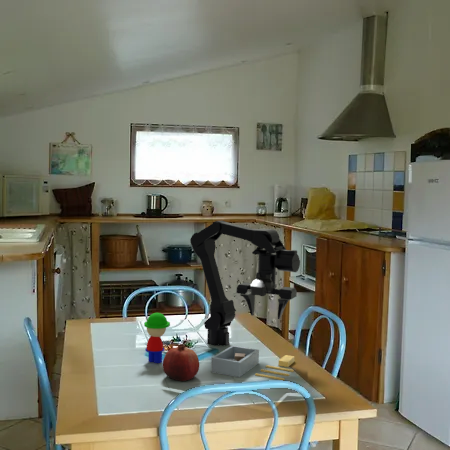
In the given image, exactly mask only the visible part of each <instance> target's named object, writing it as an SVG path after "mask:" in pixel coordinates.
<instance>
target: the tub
mask: <svg viewBox="0 0 450 450" xmlns="http://www.w3.org/2000/svg"><path fill="white" fill-rule="evenodd" d="M235 353H242V354H245V357H244V358H243V359H241V360H240V361H233V360H227V359H235ZM259 359H260V350H259V349H257V348H250V347H244V346H237V345H230V346H229V347H227V348H225V349H224V350H222V351H221V352H219V353H217V354H215V355H214V356H212V357H211V359H210V360H211V361H210V362H211V363H210V364H211V367H210V372H211V373H214V374H220V375H224V376H231V377H235V378H241V377H243V376H244V375H245V374H247V373H248V372H249V371H251V370H252V369H253V368H254V367H256V366H257V365H259V362H260V360H259Z"/></svg>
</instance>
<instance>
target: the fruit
mask: <svg viewBox="0 0 450 450" xmlns="http://www.w3.org/2000/svg"><path fill="white" fill-rule="evenodd" d="M162 369H163V372H164V374H165V375H166V376H167V377H168V378H170V379H171V380H175V381H179V382H186V381H189V380H192V379H194V377H196V375H197V374H198V372H199V370H200V359H199V357H198V355H197V353H196V351H194V350H193V349H190V348H189V347H186V345H185V344H184V343H179V344H178V345H177V347H174V348H170V349H169V350H167V352H166V353H165V354H164V357H163V359H162Z"/></svg>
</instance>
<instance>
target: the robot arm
mask: <svg viewBox="0 0 450 450" xmlns="http://www.w3.org/2000/svg"><path fill="white" fill-rule="evenodd" d="M222 235H224V236H225V235H226V236H229V237H232V238H236V239H237V238H238V239H240V240H245V241H247V242H250V244H252V245H253V246H255V247H256V248H255V249H254V250H253V251H252V252H251V254H252V255H258V256H257V257H258V258H257V260H258V261H257V272H256V274H255V279H253V280H252V282H242V283H239V284H237V286H236V294H239V296H240V297H243V298H244V299H245V302H246V304H247V307H248V310H249V313H250V316H252V317H253V316H254V314H255V306H256V305H255V301H256V299H255V298H256V296H259V297H265V296H266V295H267V294H268V295H269V294H270V295H275V296H277V295H278V297H279V298H278V299H277V301H278V308H277V309H278V310H277V320H280V319H281V317H282V315H283V313H284V311H285V308H286V306H287V304H288V302H289V301H291V300H293V299H294V298H296V297H297V289H296V287H290V286H284V287H282V288H277V287H278V286H277V285H278V284H277V283H276V282H277V281H276V280H277V279H276V278H277V275H278V271H282V272H290V273H297V272H298V271H299V269H300V267H301V266H300V265H301V259H300V256H299V255H298V250H297V249H296V250H295V249H292V250H290V249H286V246H285V245H284V244H283V242H282V241H281V239H280V235H279V233H278V231H277V230H275V229H270V228H252V227H248V226H244V225H239V224H235V223H232V222H227V221H225V220H216V221H213V222H212V223H211V224H210V225H208V226H206V227H205V228H203V229H202V230H200V231H198V232H195V233H193V234H192V235H191V238H190V239H189V240H190V241H189V242H190V245H191V247H192V250H193V253H195V255H196V256H197V257H198V258H199V260H200V263H201V267H202V270H203V271H202V272H203V274H204V277H205V281H206V286H207V289H208V293H209V296H210V306H209V314H210V317H208V318H207V319H206V320H205V321H204V322H203V324H204V329H205V330H207V341H206V342H207V343H206V345H207V344H208V345H211V346H221V347H222V346H223V347H224V346H225V347H226V346H229V345H231V343H230V332H229V327H230V326H231V325H232V322H233V321H234V319H235V317H236V312H237V309H236V308H235V304H234V300H233V299H230V300H229V299H228V297H226V294H225V290H224V285H223V283H222V279H221V275H220V272H219V268H218V265H217V262H216V258H215V255H216V254H215V253H216V248H217V247H216V245H217V244H216V241H218V240H219V239H220V237H221V236H222Z"/></svg>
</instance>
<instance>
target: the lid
mask: <svg viewBox="0 0 450 450" xmlns="http://www.w3.org/2000/svg"><path fill="white" fill-rule="evenodd" d="M295 360H296V359H295V356H294V355H290V354H289V355H286V354H285V355H284V356H282V357H280V359H278V365H277V366H275V365H268V364H266V365H265V368H267V369H264V368H261V369H260V372H262V373H255V374H254V375H255V376H257V377H262V378H268V379H272V380H273V379H274V380H279V381H285V378H284V377H280V376H279V377H278V376H274V375H270V374H275V375H281V376H285V377H289V376H290V373H294V371H295V370H294V369H292V368H289V367H290V366H291V365H292V364H293V363H295ZM270 369H272V370H270ZM273 369H274V370H273ZM275 370H279V371H275ZM280 371H284V372H280ZM263 372H264V373H268V374H269V375H267V374H263ZM286 372H290V373H286Z"/></svg>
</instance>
